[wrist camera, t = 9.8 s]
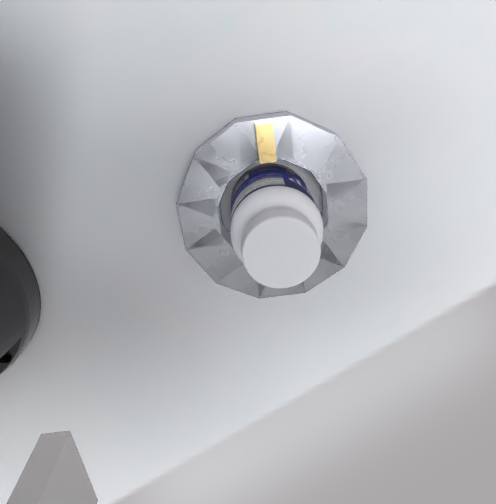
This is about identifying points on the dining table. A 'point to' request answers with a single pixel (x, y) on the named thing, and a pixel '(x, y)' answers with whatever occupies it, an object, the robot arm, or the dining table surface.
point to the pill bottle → (275, 226)
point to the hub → (265, 151)
